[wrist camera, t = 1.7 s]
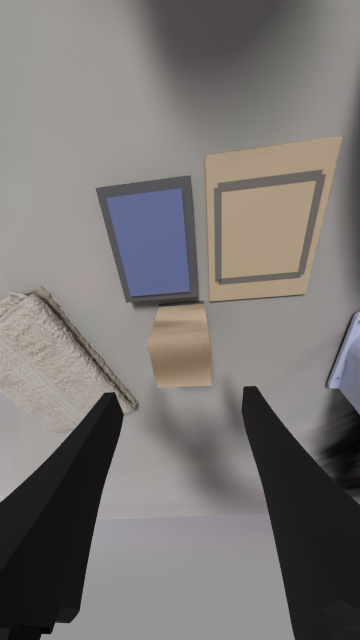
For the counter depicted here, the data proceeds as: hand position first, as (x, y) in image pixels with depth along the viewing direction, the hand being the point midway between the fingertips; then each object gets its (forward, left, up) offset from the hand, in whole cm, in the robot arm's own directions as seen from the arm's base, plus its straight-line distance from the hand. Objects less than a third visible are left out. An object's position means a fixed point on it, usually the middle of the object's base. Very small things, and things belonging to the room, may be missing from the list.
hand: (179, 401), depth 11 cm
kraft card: (+7, -7, -9) cm, 13 cm away
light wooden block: (0, 0, -9) cm, 9 cm away
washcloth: (-5, +15, -10) cm, 18 cm away
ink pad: (+7, +1, -9) cm, 11 cm away
